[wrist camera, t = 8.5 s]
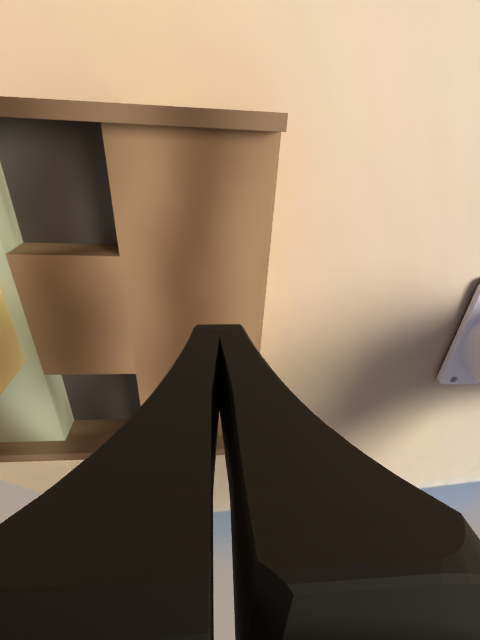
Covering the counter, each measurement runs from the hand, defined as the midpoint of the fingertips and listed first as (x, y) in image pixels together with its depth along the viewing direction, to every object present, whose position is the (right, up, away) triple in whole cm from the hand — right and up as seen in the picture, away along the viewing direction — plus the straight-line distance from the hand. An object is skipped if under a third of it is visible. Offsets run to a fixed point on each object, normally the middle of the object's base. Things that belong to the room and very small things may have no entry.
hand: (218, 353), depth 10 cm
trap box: (-8, +2, +9) cm, 12 cm away
